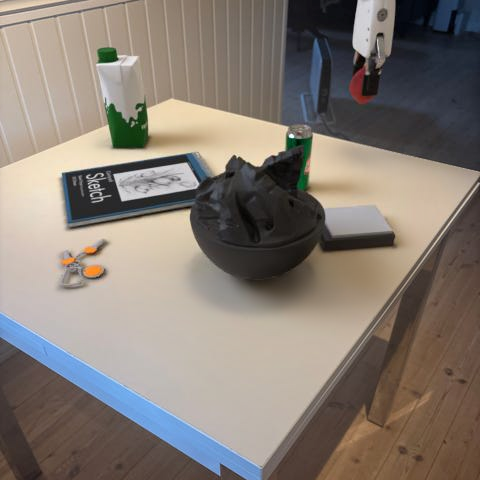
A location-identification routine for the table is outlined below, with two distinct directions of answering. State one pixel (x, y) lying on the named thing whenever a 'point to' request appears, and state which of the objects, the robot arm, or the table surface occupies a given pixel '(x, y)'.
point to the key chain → (88, 272)
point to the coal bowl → (257, 217)
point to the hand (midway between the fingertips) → (363, 89)
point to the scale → (355, 228)
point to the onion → (359, 87)
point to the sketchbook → (132, 188)
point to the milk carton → (123, 98)
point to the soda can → (304, 137)
